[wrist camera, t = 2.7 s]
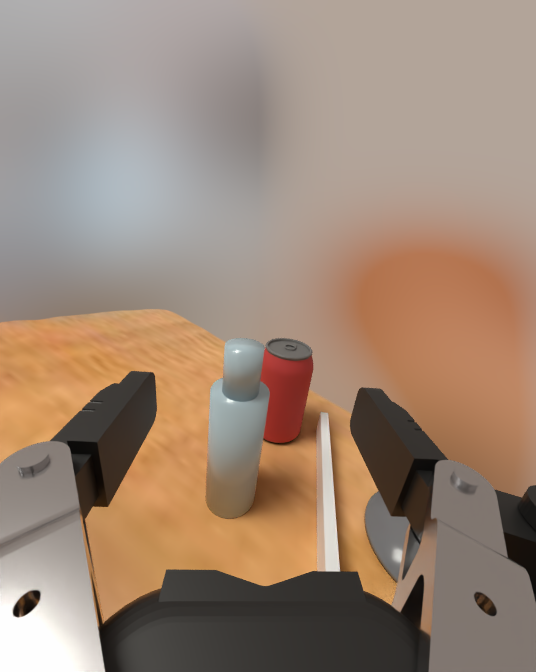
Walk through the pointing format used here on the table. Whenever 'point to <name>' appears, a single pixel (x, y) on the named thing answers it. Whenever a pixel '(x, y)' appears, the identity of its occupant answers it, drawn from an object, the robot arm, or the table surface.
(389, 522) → the coaster
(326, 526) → the wall
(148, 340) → the table surface
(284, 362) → the beer can
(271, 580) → the table surface
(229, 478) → the grey bottle
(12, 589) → the robot arm
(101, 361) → the table surface
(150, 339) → the table surface
